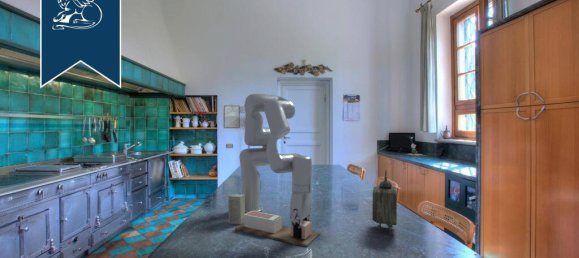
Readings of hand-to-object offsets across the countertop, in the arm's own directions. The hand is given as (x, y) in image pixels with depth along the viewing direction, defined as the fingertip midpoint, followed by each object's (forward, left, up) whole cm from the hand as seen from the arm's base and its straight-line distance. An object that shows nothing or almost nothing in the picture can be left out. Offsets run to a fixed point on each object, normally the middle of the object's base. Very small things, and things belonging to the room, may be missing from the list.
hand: (301, 234), depth 103 cm
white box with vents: (-18, 0, -1) cm, 18 cm away
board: (-11, 0, -1) cm, 11 cm away
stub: (0, 0, 0) cm, 0 cm away
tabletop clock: (+27, +25, -2) cm, 37 cm away
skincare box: (-32, +1, -2) cm, 32 cm away
